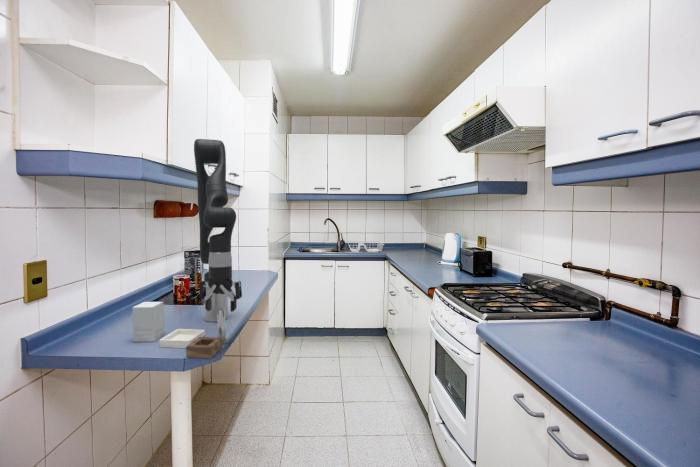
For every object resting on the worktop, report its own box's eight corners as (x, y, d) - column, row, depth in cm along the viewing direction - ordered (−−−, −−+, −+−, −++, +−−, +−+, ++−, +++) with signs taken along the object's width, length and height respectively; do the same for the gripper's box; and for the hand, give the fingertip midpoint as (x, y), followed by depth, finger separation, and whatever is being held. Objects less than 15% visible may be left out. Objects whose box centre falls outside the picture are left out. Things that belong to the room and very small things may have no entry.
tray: (177, 335, 121) (177, 328, 121) (205, 336, 120) (205, 329, 120) (159, 347, 110) (159, 339, 110) (189, 348, 110) (189, 341, 110)
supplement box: (165, 334, 122) (164, 301, 121) (154, 342, 115) (153, 307, 114) (145, 334, 122) (144, 301, 121) (132, 342, 114) (131, 306, 114)
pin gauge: (219, 341, 116) (219, 308, 115) (227, 341, 116) (226, 308, 115) (216, 344, 113) (216, 310, 113) (223, 344, 113) (223, 310, 112)
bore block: (199, 347, 111) (199, 337, 111) (222, 347, 110) (222, 337, 110) (186, 357, 103) (186, 346, 103) (210, 358, 102) (210, 347, 102)
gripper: (244, 263, 116) (244, 308, 117) (206, 262, 117) (206, 307, 118) (235, 266, 109) (236, 314, 109) (194, 265, 109) (195, 313, 110)
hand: (220, 310), depth 113 cm, fingers open, 8 cm apart
